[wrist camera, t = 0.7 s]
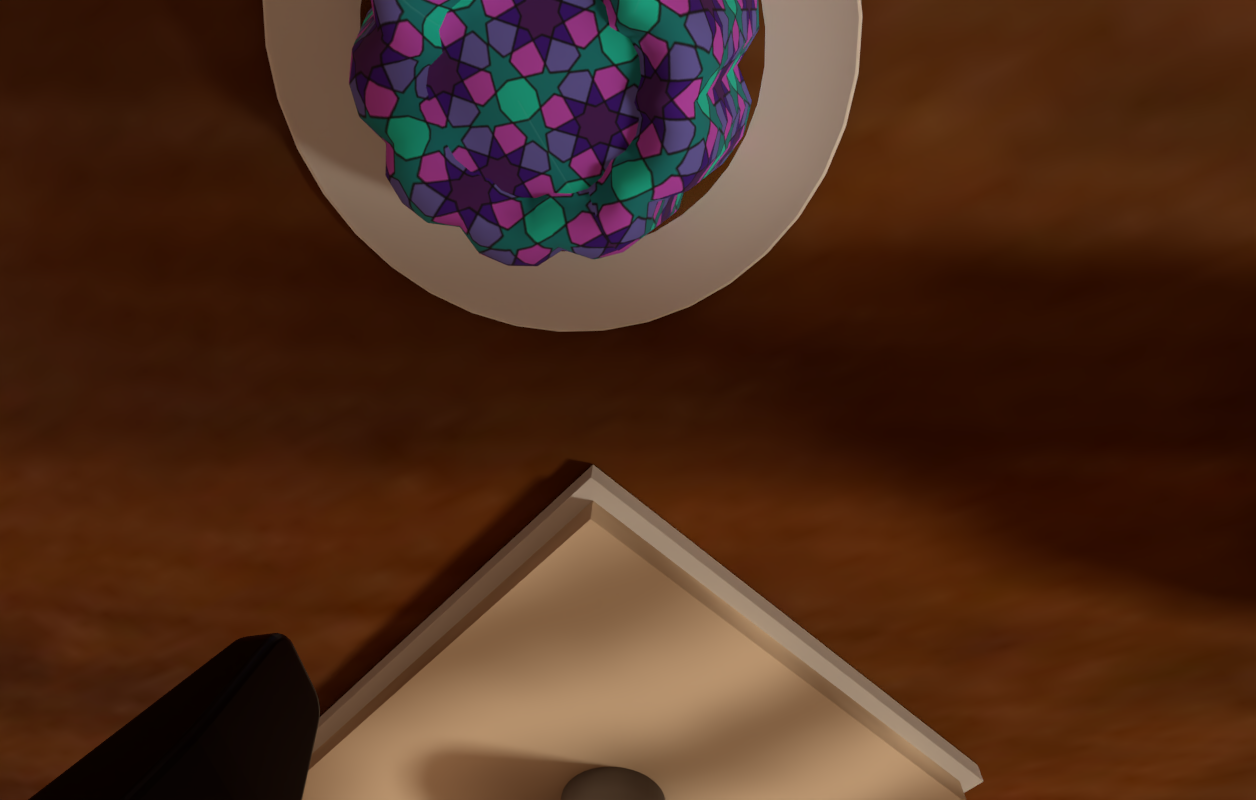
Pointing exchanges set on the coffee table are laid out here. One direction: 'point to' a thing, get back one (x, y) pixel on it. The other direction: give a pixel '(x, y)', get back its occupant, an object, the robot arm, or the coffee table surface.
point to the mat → (690, 560)
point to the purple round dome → (564, 141)
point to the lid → (615, 699)
